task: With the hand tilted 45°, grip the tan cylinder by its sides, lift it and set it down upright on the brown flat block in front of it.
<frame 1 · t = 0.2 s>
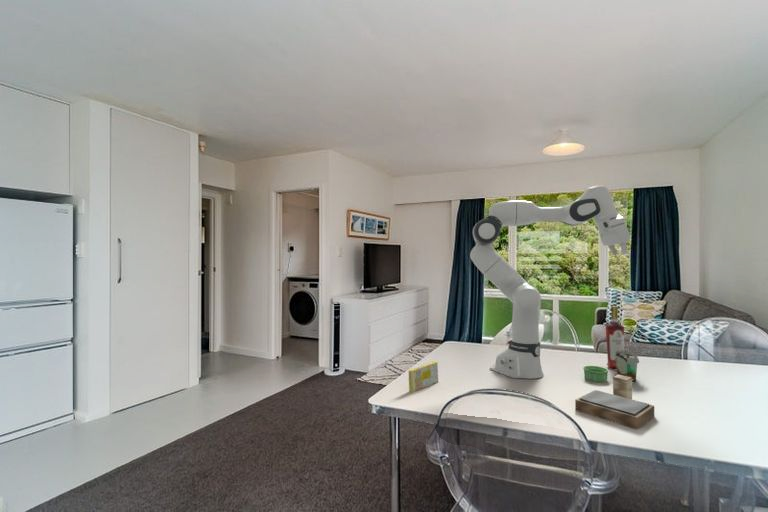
hand: (620, 254, 156), 52 cm above the table, tool tilted 20°, fingers open, 8 cm apart
tan cylinder: (622, 399, 134), on the table
candy box: (424, 387, 150), on the table
ramekin: (595, 379, 156), on the table
liquor: (615, 368, 170), on the table
brown flat block: (614, 413, 122), on the table
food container: (629, 380, 155), on the table
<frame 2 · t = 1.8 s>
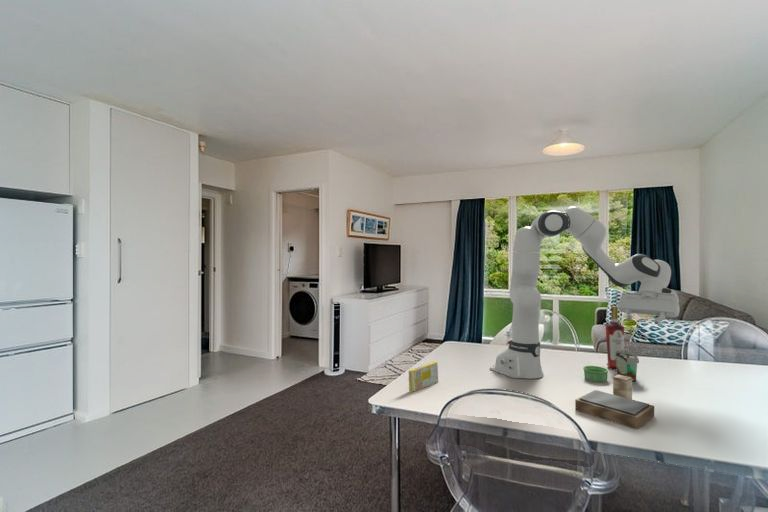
hand: (642, 321, 145), 25 cm above the table, tool tilted 45°, fingers open, 8 cm apart
nothing on the table moved.
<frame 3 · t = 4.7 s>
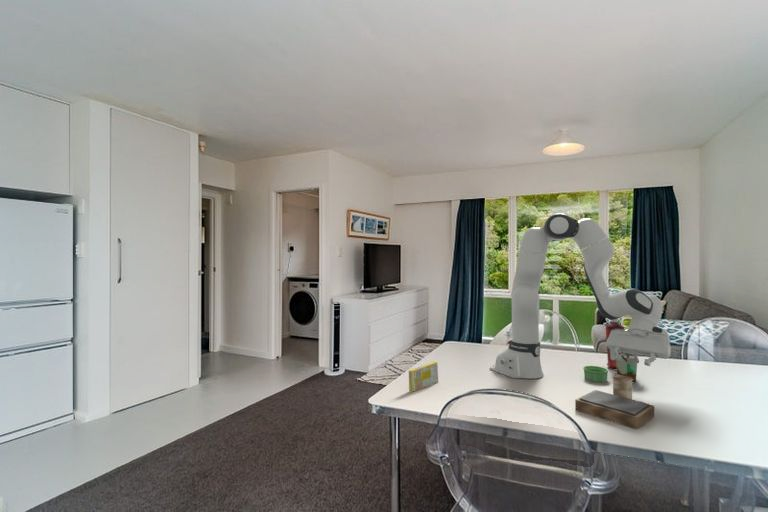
hand: (632, 362, 139), 12 cm above the table, tool tilted 45°, fingers open, 8 cm apart
nothing on the table moved.
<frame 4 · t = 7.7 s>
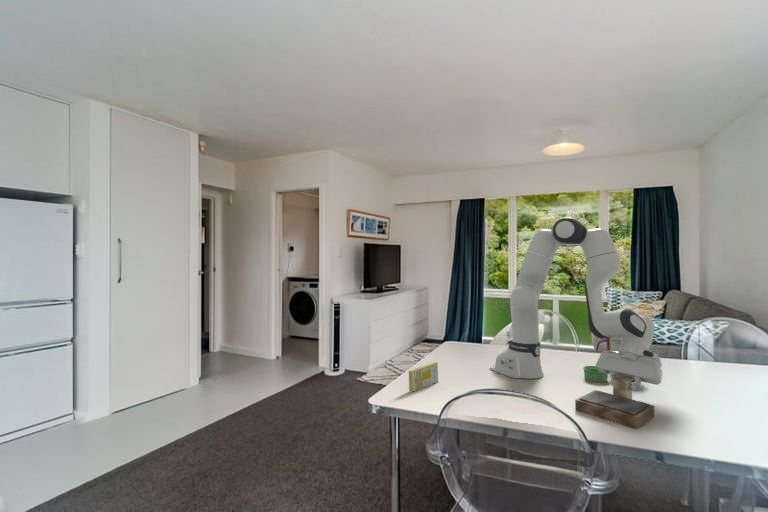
hand: (621, 387, 133), 5 cm above the table, tool tilted 45°, fingers closed on tan cylinder, 4 cm apart
tan cylinder: (622, 399, 134), on the table, touching gripper
everything else where it was.
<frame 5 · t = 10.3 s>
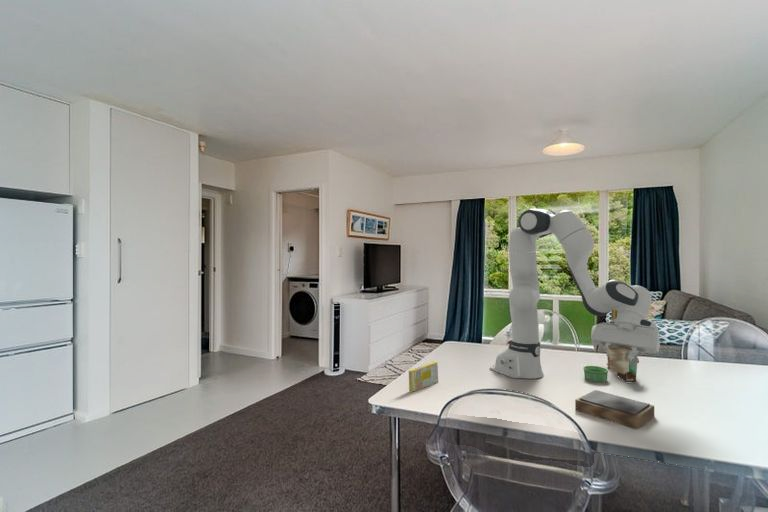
hand: (618, 357, 128), 16 cm above the table, tool tilted 45°, fingers closed on tan cylinder, 4 cm apart
tan cylinder: (619, 370, 129), point 12 cm above the table, touching gripper
everything else where it was.
when the fingers open (10 cm above the table, at t = 13.2 s): tan cylinder drops 2 cm, resting on brown flat block.
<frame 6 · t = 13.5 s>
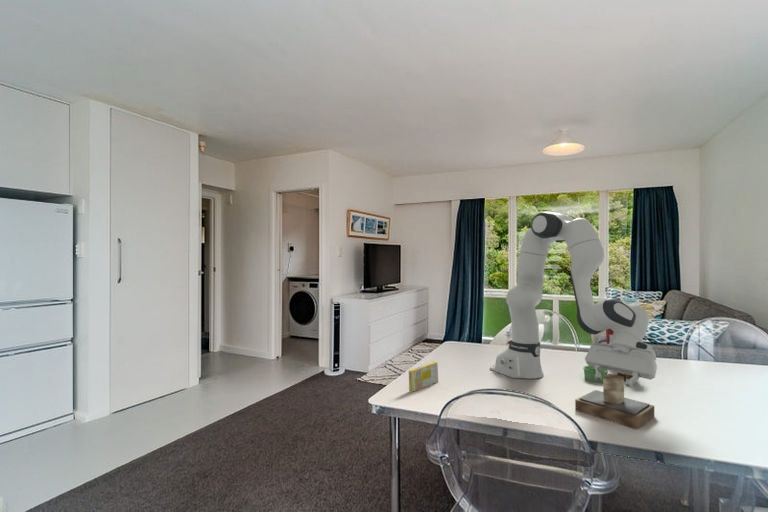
hand: (612, 382, 122), 10 cm above the table, tool tilted 45°, fingers open, 8 cm apart
tan cylinder: (613, 401, 122), point 4 cm above the table, touching brown flat block
everything else where it was.
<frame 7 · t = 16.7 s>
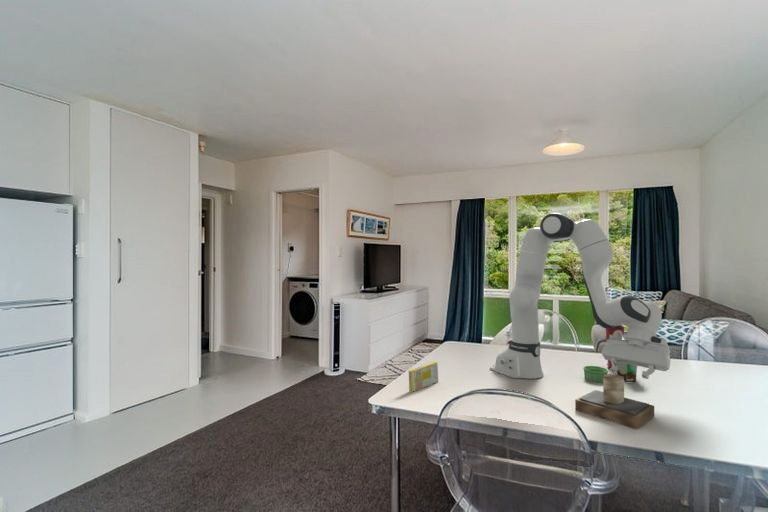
hand: (628, 374, 130), 10 cm above the table, tool tilted 45°, fingers open, 8 cm apart
nothing on the table moved.
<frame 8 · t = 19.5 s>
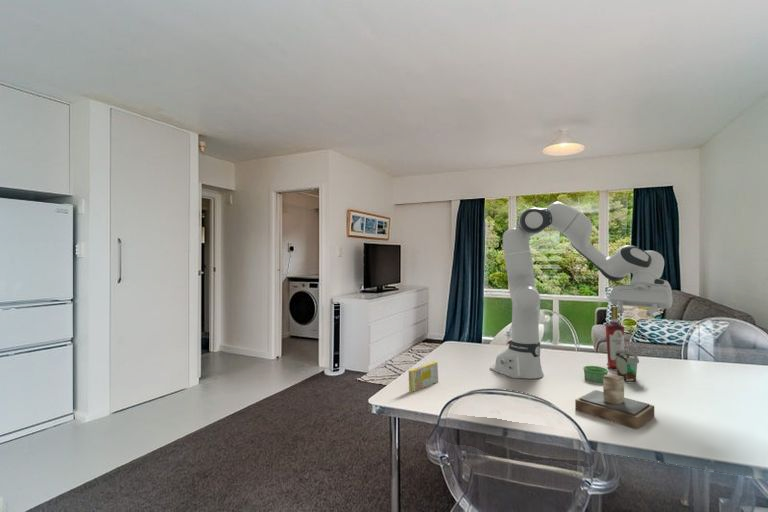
hand: (634, 313, 141), 29 cm above the table, tool tilted 45°, fingers open, 8 cm apart
nothing on the table moved.
at the end: tan cylinder inside the target area on the brown flat block (0.0 cm from its centre), point 4.0 cm above the brown flat block's base; tan cylinder tilted 0°; the gripper is holding nothing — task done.
